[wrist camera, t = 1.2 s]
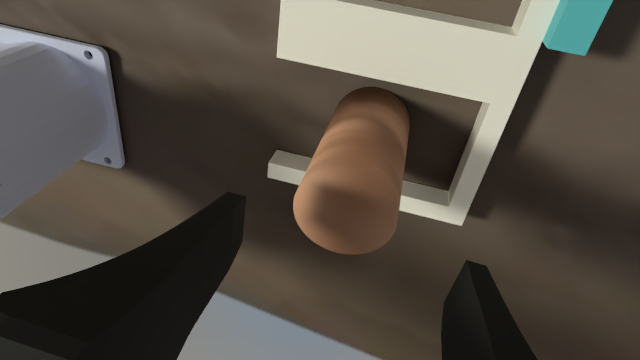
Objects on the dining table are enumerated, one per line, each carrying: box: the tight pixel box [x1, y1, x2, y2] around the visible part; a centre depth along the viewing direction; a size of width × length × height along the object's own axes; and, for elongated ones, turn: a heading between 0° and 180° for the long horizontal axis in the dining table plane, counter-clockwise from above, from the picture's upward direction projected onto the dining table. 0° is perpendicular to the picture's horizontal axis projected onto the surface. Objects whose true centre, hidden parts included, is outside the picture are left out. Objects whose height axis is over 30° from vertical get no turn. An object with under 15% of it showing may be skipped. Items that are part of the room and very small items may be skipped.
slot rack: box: [267, 0, 613, 226], centre depth 19 cm, size 12×17×2 cm
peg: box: [293, 87, 410, 255], centre depth 19 cm, size 4×4×8 cm
